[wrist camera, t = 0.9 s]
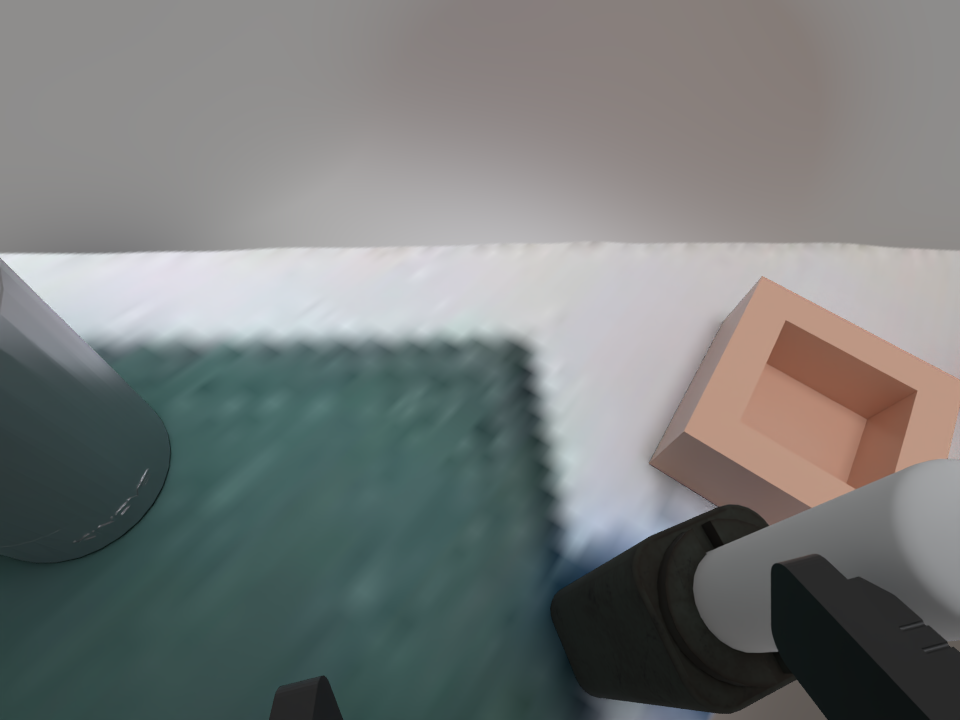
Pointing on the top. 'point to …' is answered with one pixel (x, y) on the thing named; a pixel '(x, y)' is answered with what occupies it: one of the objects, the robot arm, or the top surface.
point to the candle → (753, 590)
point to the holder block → (802, 409)
